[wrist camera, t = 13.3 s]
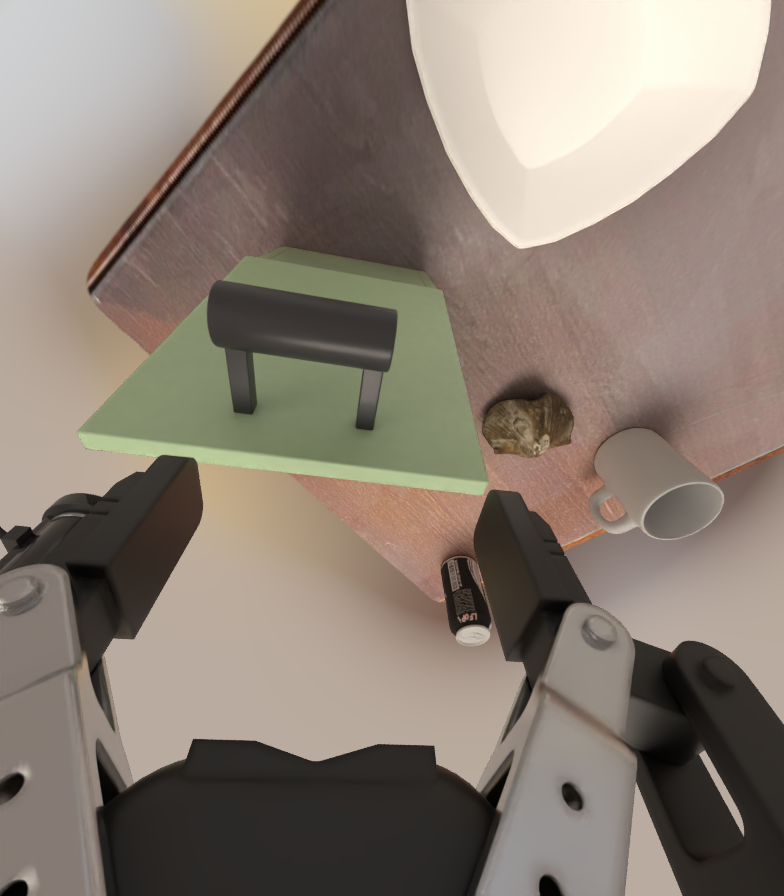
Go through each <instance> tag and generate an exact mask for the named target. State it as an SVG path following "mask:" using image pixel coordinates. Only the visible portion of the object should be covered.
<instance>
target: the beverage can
mask: <svg viewBox="0 0 784 896" xmlns="http://www.w3.org/2000/svg"><path fill="white" fill-rule="evenodd" d="M441 575H442V582H443V588H444V594H445V601H446V607H447V613H448V620H449V626H450V629H451V632H452V633H453V634H454V635H455V636H456V639H457V641H458V642H459V643H460V644H462V645H465V646H477V645H480V644H483V643H485V642H486V641H487V640H488V639H489V638H490V629H491V626H492V621H491V617H490V613H489V609H488V606H487V602H486V598H485V594H484V590H483V586H482V583H481V579H480V575H479V571H478V567H477V564H476V562H475V561H474V560H473V559H471V558H469V557H466V556H456V557H452V558H450V559H448V560H447V561H445V562H444V563H443V565H442V567H441Z"/></svg>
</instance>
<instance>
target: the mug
mask: <svg viewBox="0 0 784 896" xmlns="http://www.w3.org/2000/svg"><path fill="white" fill-rule="evenodd" d="M594 468H595V471H596V473H597V475H598V476H599V477H600V479H601V480H602V481H603V482H604V484H605V485H604V486H603V487H601V488H600V489H598V490H597V491H596V492H594V493H593V494H592V495H591V497H590V498H589V509H590V512H591V514H592V516H593V517H594V519H595V520H596V522H597V523H598V524H599V525H600V526H601V527H602V528H603V529H604V530H606V531H607V532H609V533H613V534H620V533H624V532H626V531H628V530H631V529H633V528H635V527H640V528H641V530H642V531H643V532H645V533H646V534H647V535H648V536H650V537H652V538H655V539H660V540H673V539H679V538H683V537H686V536H689V535H691V534H694V533H696V532H698V531H700V530H701V529H703V528H704V527H706V526H707V525H709V524H710V523H711V522H712V521H713V520H714V519H715V518H716V517H717V516H718V514H719V513H720V511H721V509H722V507H723V504H724V495H723V492H722V490H721V489H720V487H719V486H718V485H717V484H716V483H715V482H713V481H712V480H711V479H710V478H709V477H707V476H706V475H705V474H704V473H703V472H701V471H700V470H699V469H698V468H697V467H695V466H694V465H693V464H692V463H691V462H690V461H688V460H687V459H686V458H685V457H684V456H682V455H681V454H680V453H679V452H678V451H676V450H675V449H674V448H673V447H672V446H671V445H669V444H668V443H667V442H666V441H665V440H664V439H663V438H662V437H661V436H659V435H658V434H657V433H655V432H654V431H652V430H649V429H645V428H631V429H627V430H623V431H621V432H619V433H617V434H615V435H613V436H611V437H610V438H609V439H607V440H606V441H605V442H604V443H603V444H602V445H601V447H600V448H599V449H598V451H597V453H596V455H595V459H594ZM612 497H615V498H617V500H618V501H619V502H620V503H621V504H622V506H623V507H624V508H625V510H626V513H625V515H624V516H623V517H621V518H620V519H618V520H617V521H614V522H609V521H607V520H605V519H604V518H603V516H602V515H601V513H600V509H599V507H600V505H601V503H603V502H604V501H605V500H607V499H609V498H612Z"/></svg>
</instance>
